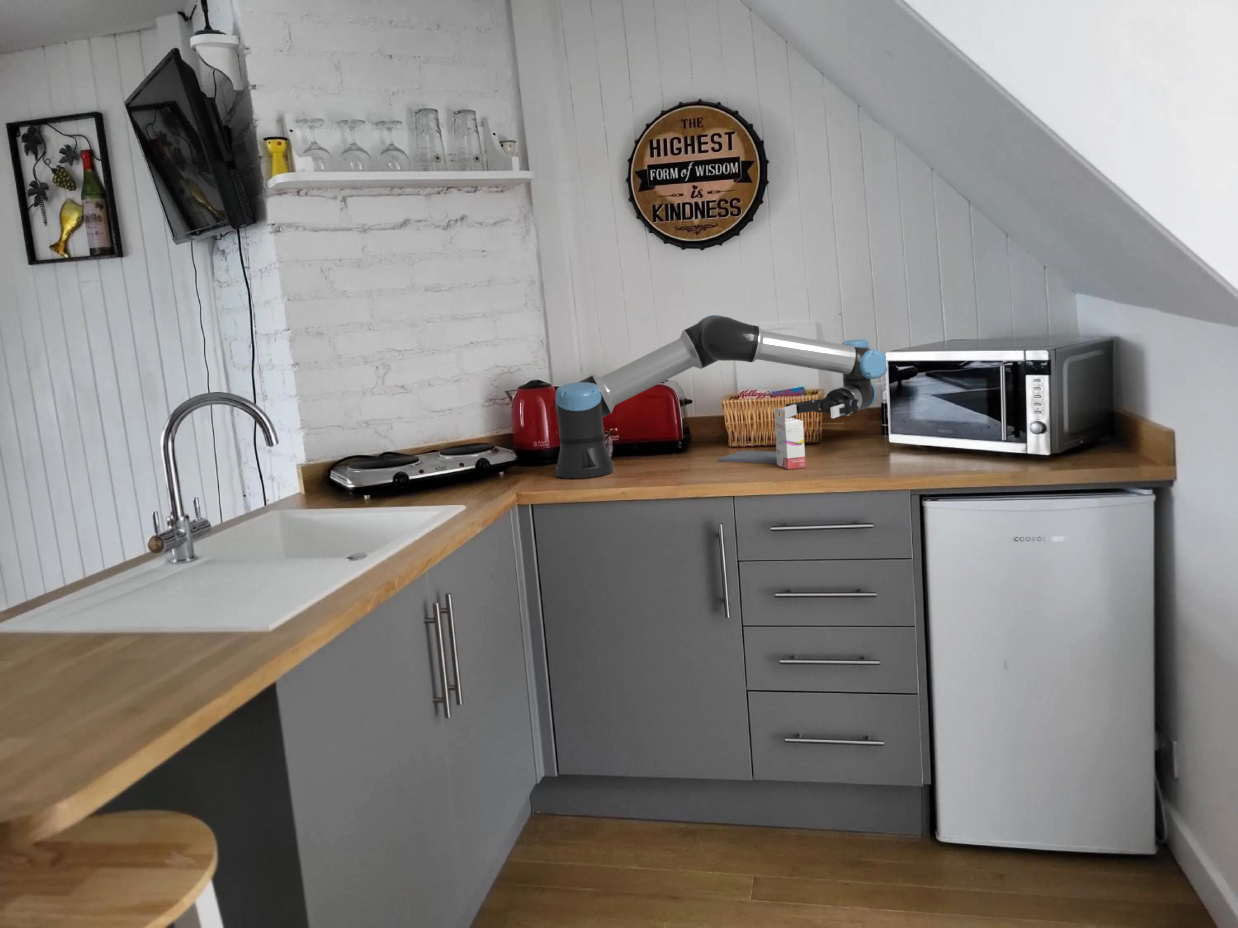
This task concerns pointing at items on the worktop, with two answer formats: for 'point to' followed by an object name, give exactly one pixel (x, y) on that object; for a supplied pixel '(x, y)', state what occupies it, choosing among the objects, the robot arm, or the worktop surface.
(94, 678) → the worktop surface
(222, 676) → the worktop surface
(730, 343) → the robot arm
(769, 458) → the charcoal mat
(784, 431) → the ink cartridge box
